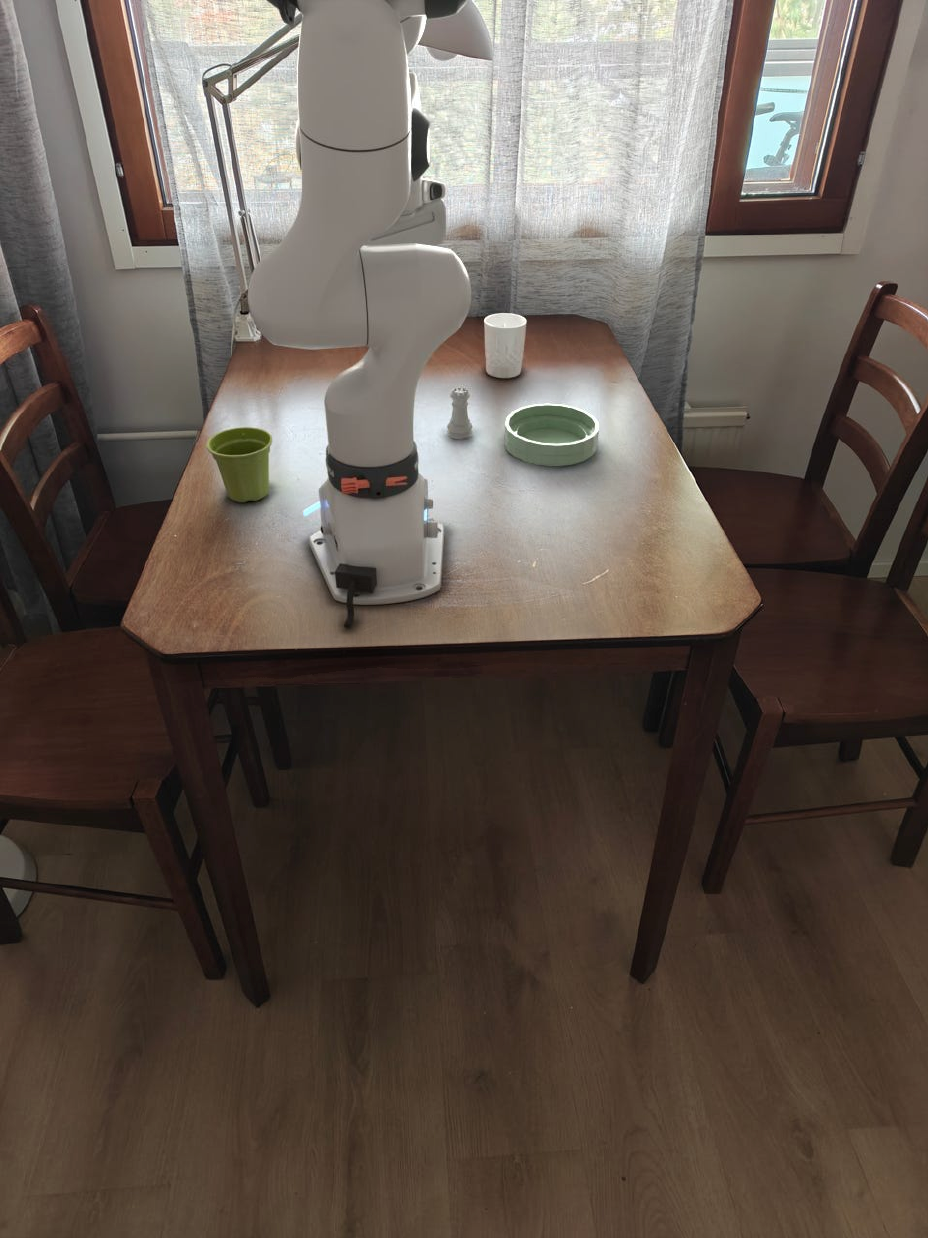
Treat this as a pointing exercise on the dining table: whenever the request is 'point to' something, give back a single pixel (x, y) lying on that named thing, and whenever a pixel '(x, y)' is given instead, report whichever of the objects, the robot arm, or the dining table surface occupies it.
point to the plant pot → (243, 461)
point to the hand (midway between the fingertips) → (397, 284)
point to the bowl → (551, 434)
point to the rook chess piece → (459, 415)
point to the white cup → (504, 344)
